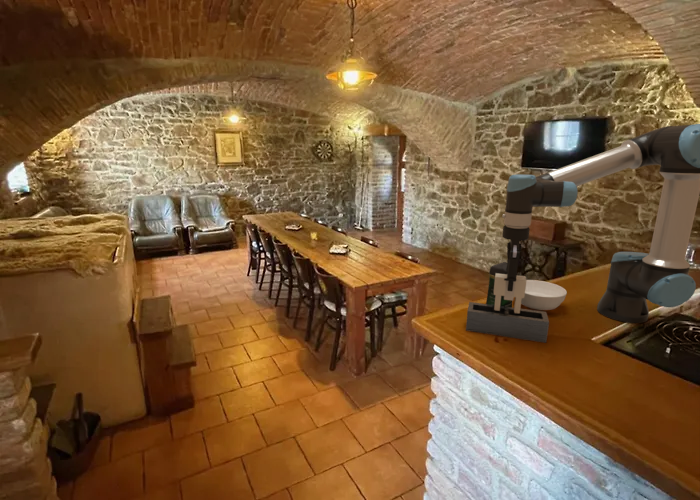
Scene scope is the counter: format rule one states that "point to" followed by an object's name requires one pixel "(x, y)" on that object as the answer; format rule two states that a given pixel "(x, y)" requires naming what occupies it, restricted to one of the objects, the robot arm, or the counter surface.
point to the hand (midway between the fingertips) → (508, 296)
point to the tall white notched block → (500, 290)
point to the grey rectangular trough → (507, 322)
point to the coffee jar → (490, 300)
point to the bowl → (543, 295)
